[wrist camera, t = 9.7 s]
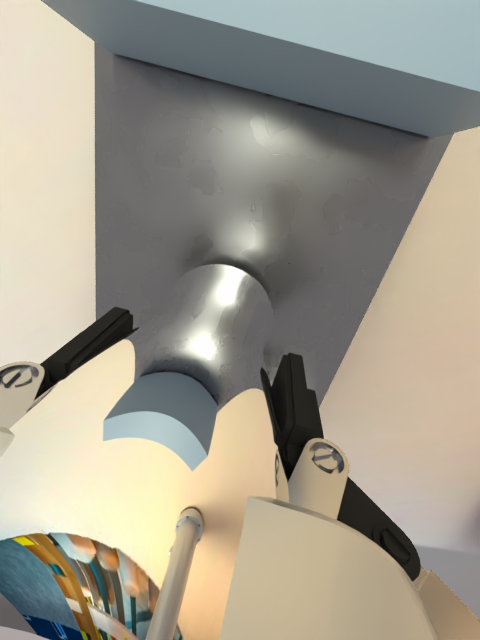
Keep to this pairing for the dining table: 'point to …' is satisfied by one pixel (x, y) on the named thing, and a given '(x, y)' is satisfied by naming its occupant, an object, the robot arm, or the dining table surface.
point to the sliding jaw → (311, 51)
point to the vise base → (249, 201)
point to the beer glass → (143, 473)
